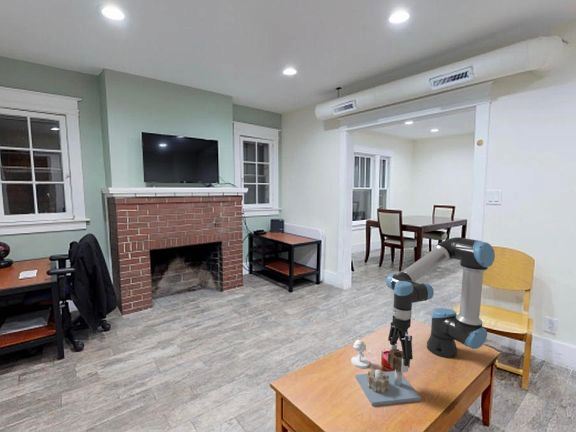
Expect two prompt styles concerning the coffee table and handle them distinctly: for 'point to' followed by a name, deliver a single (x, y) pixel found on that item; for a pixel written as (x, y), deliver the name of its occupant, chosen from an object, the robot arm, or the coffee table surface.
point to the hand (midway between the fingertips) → (398, 364)
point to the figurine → (360, 355)
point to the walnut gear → (396, 359)
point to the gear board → (396, 392)
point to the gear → (378, 382)
